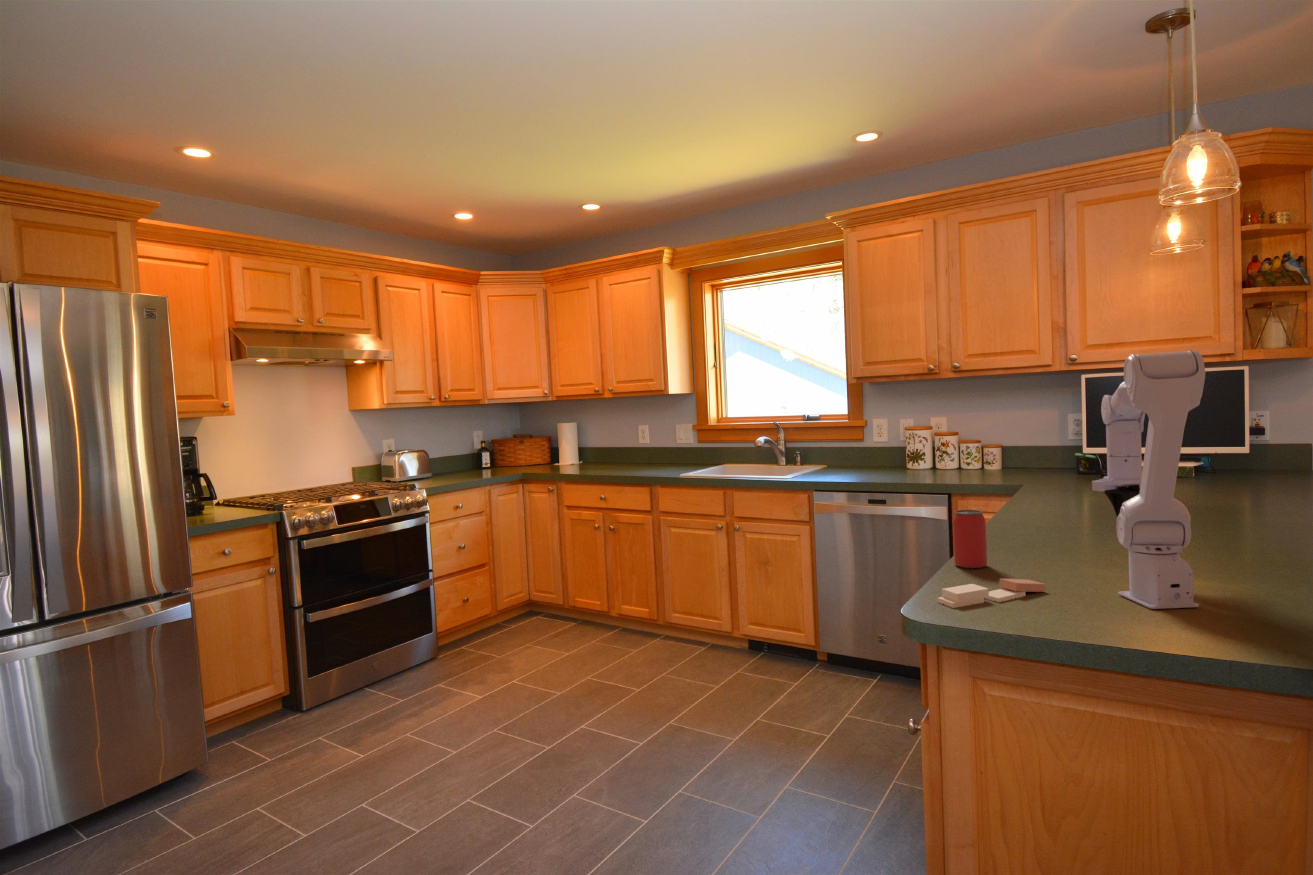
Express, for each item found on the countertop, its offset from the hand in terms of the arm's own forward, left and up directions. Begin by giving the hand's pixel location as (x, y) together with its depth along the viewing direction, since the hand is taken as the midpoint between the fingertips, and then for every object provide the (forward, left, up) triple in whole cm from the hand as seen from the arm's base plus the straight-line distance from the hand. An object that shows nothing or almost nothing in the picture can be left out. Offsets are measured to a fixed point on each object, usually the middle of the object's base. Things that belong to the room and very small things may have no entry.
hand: (1125, 524), depth 139 cm
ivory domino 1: (-11, +33, -9) cm, 36 cm away
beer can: (+14, +25, -11) cm, 31 cm away
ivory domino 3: (-8, +25, -10) cm, 29 cm away
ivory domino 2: (-11, +34, -10) cm, 37 cm away
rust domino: (-6, +21, -10) cm, 24 cm away
